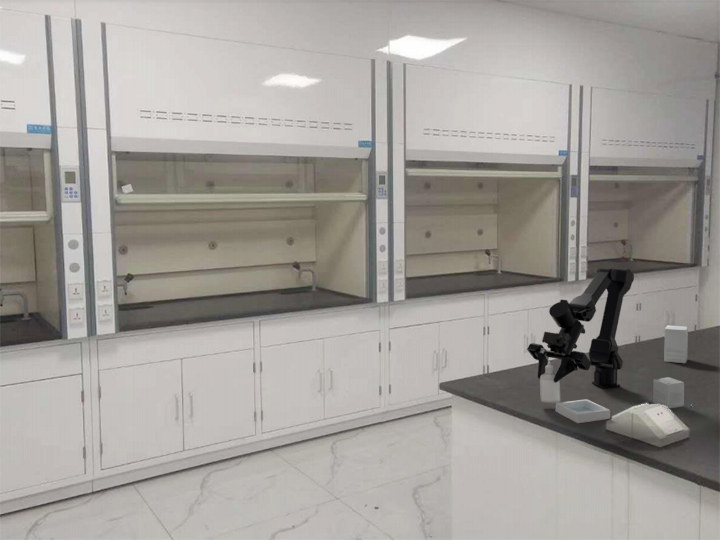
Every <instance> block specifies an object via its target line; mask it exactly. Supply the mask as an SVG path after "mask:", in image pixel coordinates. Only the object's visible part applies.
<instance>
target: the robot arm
mask: <svg viewBox="0 0 720 540" xmlns="http://www.w3.org/2000/svg"><path fill="white" fill-rule="evenodd" d="M596 270H597V271H596V275H594V277H593V279H592V280H591V281H590V282H589V284H588V286H587V287H586V288H585V290H583V292H582V294H581V295H578V296H576V297H574V298H572V300H570V302H569V301H568V299H560V300H559V302H556V303H554V304H553V305H551V306H550V308H549V310H548V313H549V315H550V316H551V318H552V320H553V321H554V323H555V324H556V325H557V327H558V328H559V331H558V332H550V331H544V332H543V336H542V340H541V342H542V343H545V344H546V346H547V348H548V349H545V346H543V345H542V344H539V343H533V342H532V343H529V344H528V346H527V349H526V350H527V352H528V353H529V354H530V356H531V357H532V358H533V359H534V360H535V361H538V368H537V369H538V370H537V379H538V380H540V376H541V375H542V374H545V366H547V365H548V362H549V359H551V358H552V359H556V360H560V361H561V362H560V365H559V367H558V370H557V371H556V373H555V374H556V375H555V377H554V382H555V383H556V382H558V381H559V380H560V381H561V380H562V379H563V378H564V377H566V376H568V375H570V374H572V373H573V372H575V371H578V370H583V371H589V369H590V367H591V366H592V367H595V368H594V371H593V381H591V384H592V385H596V386H598V387H600V388H603V389H607V388H609V389H610V388H616V387H621V384H620V383H618V370H621V369H622V367H623V363H624V361H623V359H622V358H621V356H620V355H619V346H618V344H617V341H616V335H617V330H618V325H619V320H620V315H621V310H622V305H623V301H624V296H625V295H626V294H627V293H628V292H629V291H630V290H631V289H632V284H633V283H634V279H635V275H634V273H633V272H632V271H631V269H630V268H622V267H620V268H619V267H600V268H599V267H598V269H596ZM605 291H606V292H607V297H606V301H605V305H604V310H603V315H602V320H601V325H600V329H599V334H598V335H597V337H595V338H592V340H591V343H590V347H589V351H588V356H589V357H588V356H587V355H586V353H585V352H582V351H576V350H573V349H577V347H578V345H577V342H578V339H579V337H580V336H581V334H583V335H584V334H586V329H585V325H584V324H583V323H582V322H588V323H589V322H590V321H592V319H593V318H594V317H595V314H596V312H597V308H596V306H597V303H598V301H599V300H600V299H601V297H602V295H603V294H604V293H605Z"/></svg>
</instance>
